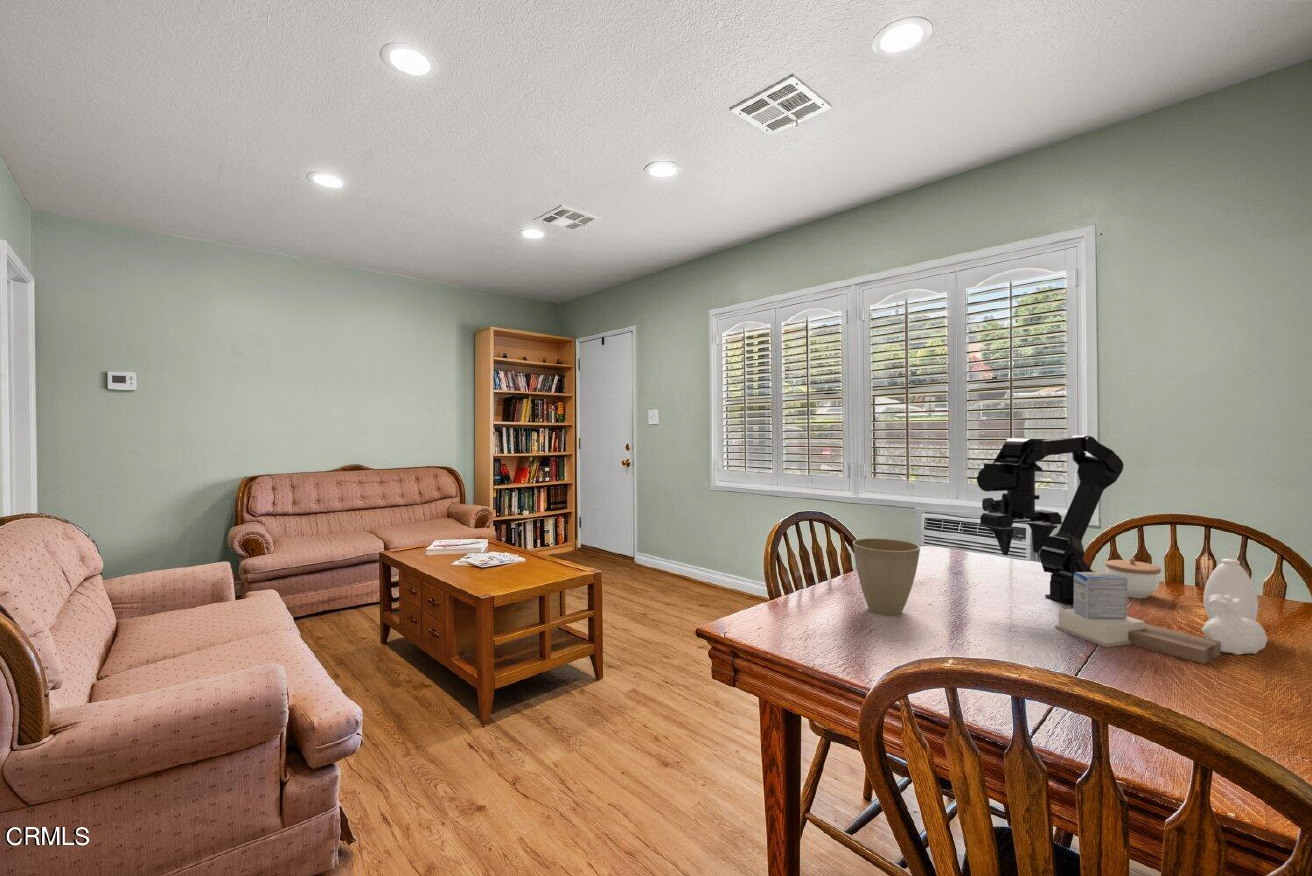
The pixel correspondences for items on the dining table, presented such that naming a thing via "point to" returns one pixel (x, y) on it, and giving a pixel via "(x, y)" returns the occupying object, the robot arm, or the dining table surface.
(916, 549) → the plant pot
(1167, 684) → the dining table surface
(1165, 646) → the grey-brown long grooved block
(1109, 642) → the block
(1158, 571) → the lidded jar
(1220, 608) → the duck figurine
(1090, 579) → the medicine box
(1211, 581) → the sauce bottle
